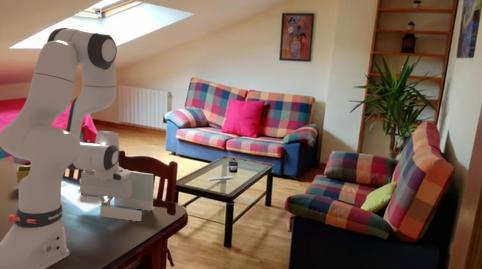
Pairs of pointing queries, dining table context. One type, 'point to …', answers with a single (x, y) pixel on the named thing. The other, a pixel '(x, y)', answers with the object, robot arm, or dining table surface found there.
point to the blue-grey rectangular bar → (122, 207)
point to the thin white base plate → (126, 213)
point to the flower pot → (22, 172)
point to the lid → (142, 186)
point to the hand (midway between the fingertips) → (105, 205)
